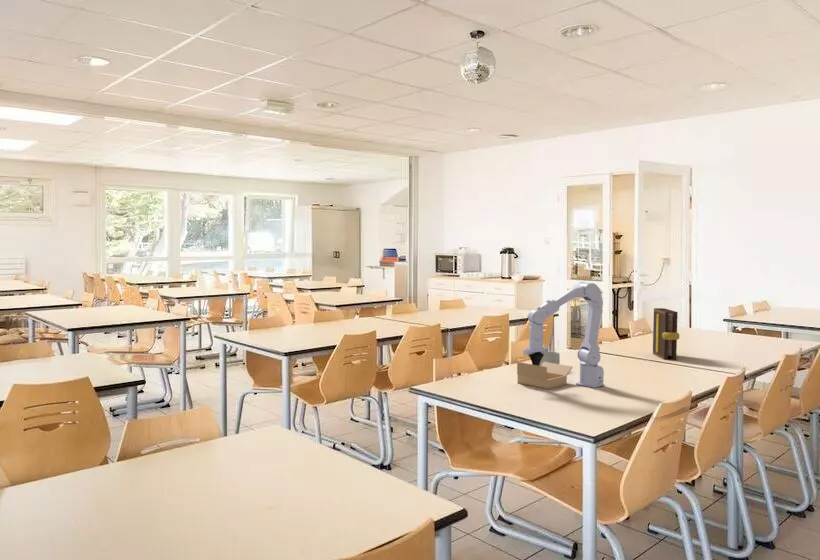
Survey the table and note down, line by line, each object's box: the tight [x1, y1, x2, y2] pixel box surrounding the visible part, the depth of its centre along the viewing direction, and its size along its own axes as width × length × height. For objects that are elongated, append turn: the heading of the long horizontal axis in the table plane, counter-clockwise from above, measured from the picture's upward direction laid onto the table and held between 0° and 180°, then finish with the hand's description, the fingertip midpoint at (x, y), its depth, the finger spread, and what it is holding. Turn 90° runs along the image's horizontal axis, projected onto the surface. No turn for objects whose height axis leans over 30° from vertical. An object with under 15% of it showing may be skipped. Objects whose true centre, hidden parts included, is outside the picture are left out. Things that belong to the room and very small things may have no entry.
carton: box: [517, 372, 568, 391], centre depth 272 cm, size 16×13×4 cm
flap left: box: [516, 361, 547, 380], centre depth 267 cm, size 15×6×1 cm
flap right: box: [541, 362, 574, 377], centre depth 278 cm, size 15×6×1 cm
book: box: [652, 307, 680, 361], centre depth 336 cm, size 22×8×25 cm, turn 178°
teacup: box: [539, 350, 561, 366], centre depth 306 cm, size 14×11×8 cm
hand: (535, 370), depth 266 cm, fingers closed, pressing on flap left
